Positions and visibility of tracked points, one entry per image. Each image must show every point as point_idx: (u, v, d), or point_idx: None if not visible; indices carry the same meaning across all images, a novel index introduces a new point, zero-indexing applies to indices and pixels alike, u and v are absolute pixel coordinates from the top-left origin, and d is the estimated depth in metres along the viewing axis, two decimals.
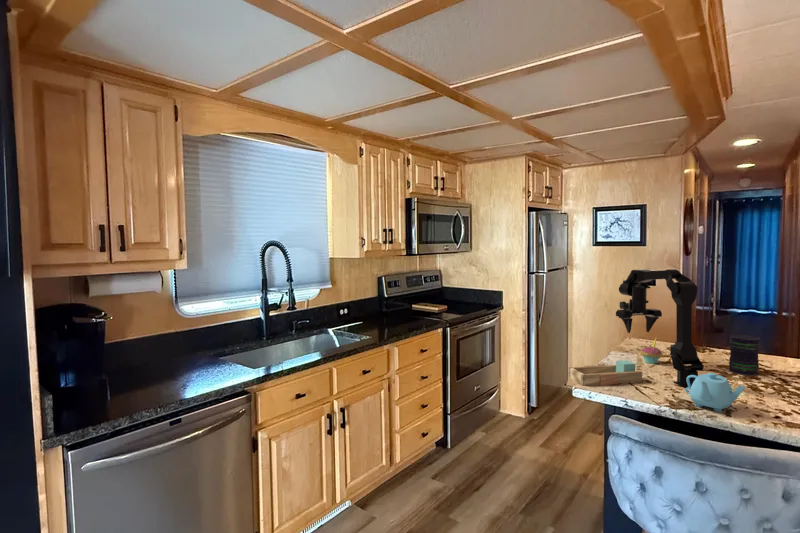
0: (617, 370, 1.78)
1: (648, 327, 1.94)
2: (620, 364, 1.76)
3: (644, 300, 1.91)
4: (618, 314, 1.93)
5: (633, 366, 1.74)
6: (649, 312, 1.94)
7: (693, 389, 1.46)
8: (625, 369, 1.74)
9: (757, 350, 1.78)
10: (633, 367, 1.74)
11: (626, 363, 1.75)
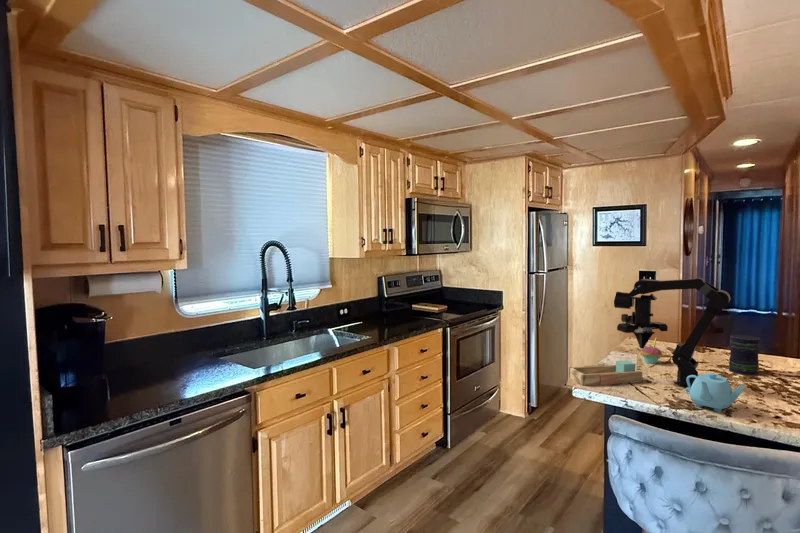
0: (617, 370, 1.78)
1: None
2: (620, 364, 1.76)
3: (648, 313, 1.73)
4: (620, 328, 1.76)
5: (633, 366, 1.74)
6: (654, 326, 1.77)
7: (693, 389, 1.46)
8: (625, 369, 1.74)
9: (757, 350, 1.78)
10: (633, 367, 1.74)
11: (626, 363, 1.75)
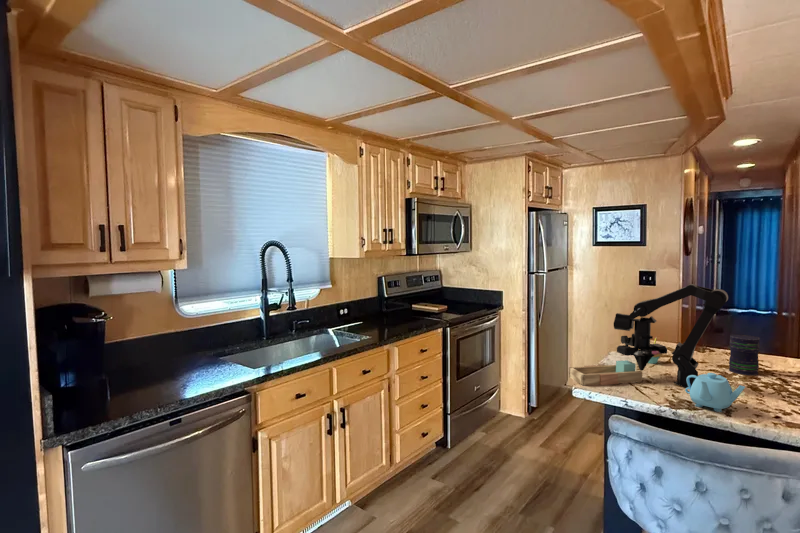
0: (617, 370, 1.78)
1: None
2: (620, 364, 1.76)
3: (648, 336, 1.74)
4: (619, 350, 1.76)
5: (633, 366, 1.74)
6: (653, 348, 1.77)
7: (693, 389, 1.46)
8: (625, 369, 1.74)
9: (757, 350, 1.78)
10: (633, 367, 1.74)
11: (626, 363, 1.75)
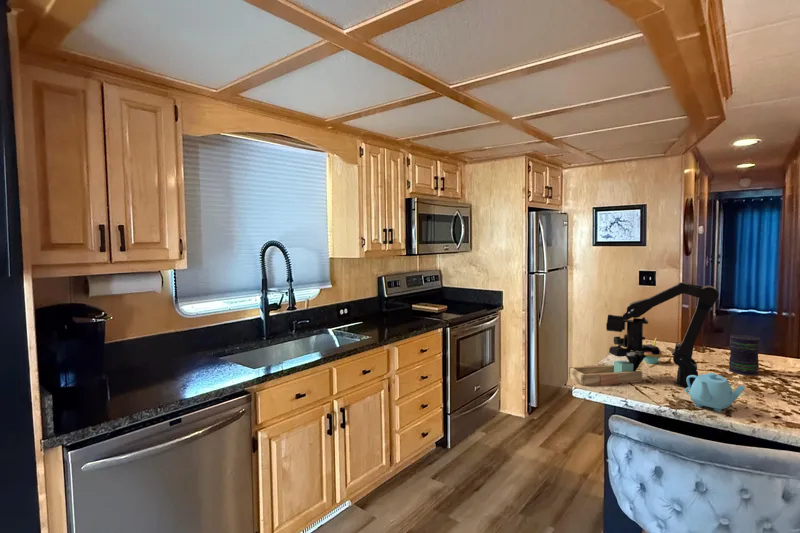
0: (615, 370, 1.78)
1: None
2: (618, 364, 1.76)
3: (640, 337, 1.73)
4: (612, 351, 1.76)
5: (631, 366, 1.74)
6: (646, 349, 1.77)
7: (693, 389, 1.46)
8: (623, 369, 1.74)
9: (757, 350, 1.78)
10: (631, 367, 1.74)
11: (624, 363, 1.75)
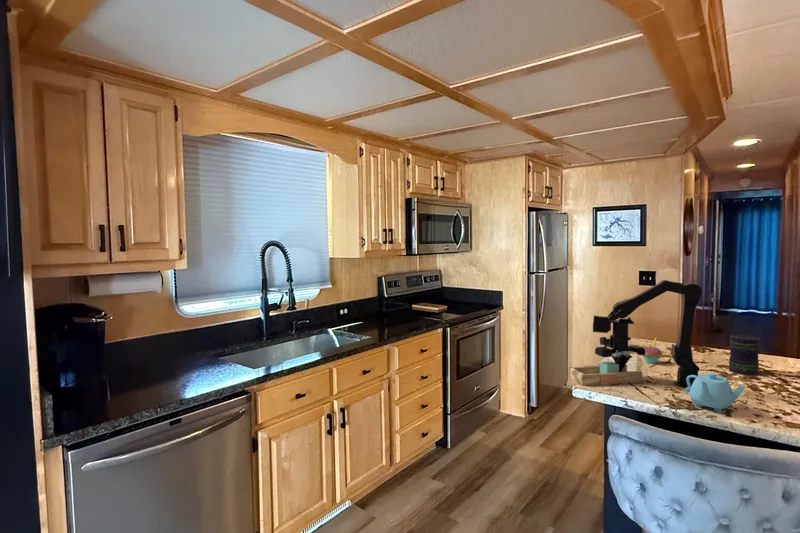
0: (601, 371, 1.77)
1: None
2: (603, 365, 1.75)
3: (626, 337, 1.73)
4: (597, 352, 1.75)
5: (616, 367, 1.73)
6: (632, 349, 1.76)
7: (693, 389, 1.46)
8: (608, 370, 1.73)
9: (757, 350, 1.78)
10: (616, 368, 1.73)
11: (609, 364, 1.74)
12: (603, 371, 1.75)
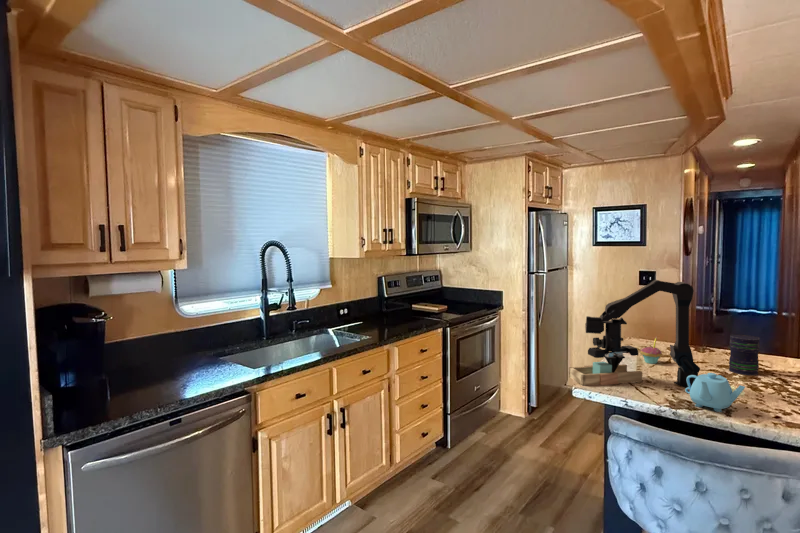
0: (594, 371, 1.76)
1: None
2: (596, 365, 1.74)
3: (618, 338, 1.72)
4: (590, 353, 1.75)
5: (609, 367, 1.73)
6: (624, 350, 1.75)
7: (693, 389, 1.46)
8: (601, 370, 1.72)
9: (757, 350, 1.78)
10: (609, 368, 1.73)
11: (602, 364, 1.73)
12: (596, 372, 1.75)
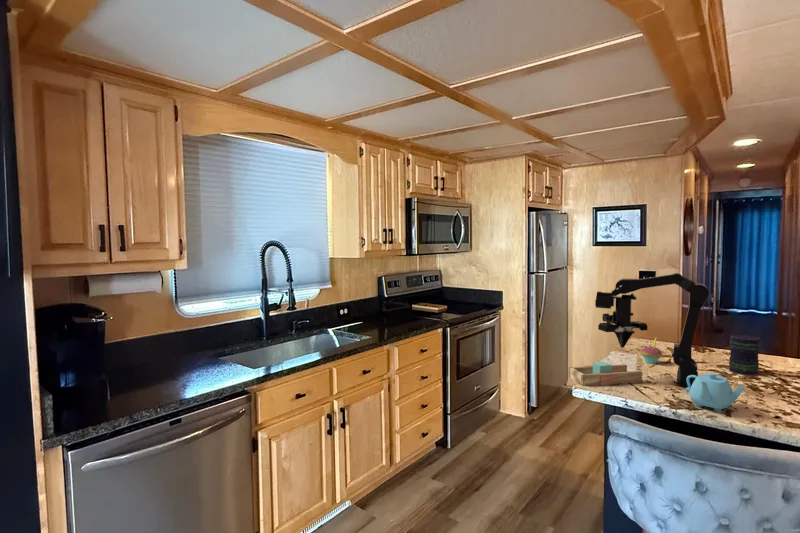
0: (594, 371, 1.76)
1: None
2: (596, 365, 1.74)
3: (629, 312, 1.75)
4: (601, 328, 1.77)
5: (609, 367, 1.73)
6: (634, 325, 1.78)
7: (693, 389, 1.46)
8: (601, 370, 1.72)
9: (757, 350, 1.78)
10: (609, 368, 1.73)
11: (602, 364, 1.73)
12: (596, 372, 1.75)
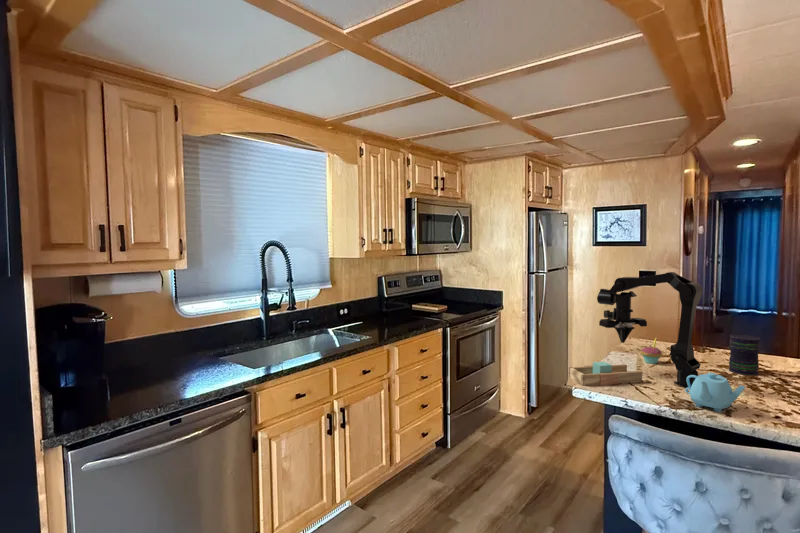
0: (594, 371, 1.76)
1: None
2: (596, 365, 1.74)
3: (628, 309, 1.83)
4: (601, 324, 1.85)
5: (609, 367, 1.73)
6: (634, 321, 1.86)
7: (693, 389, 1.46)
8: (601, 370, 1.72)
9: (757, 350, 1.78)
10: (609, 368, 1.73)
11: (602, 364, 1.73)
12: (596, 372, 1.75)
